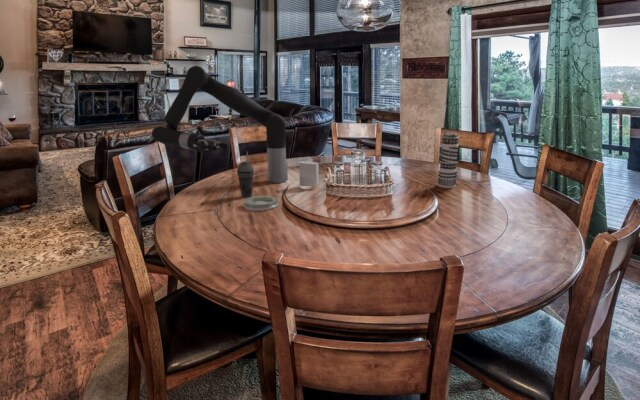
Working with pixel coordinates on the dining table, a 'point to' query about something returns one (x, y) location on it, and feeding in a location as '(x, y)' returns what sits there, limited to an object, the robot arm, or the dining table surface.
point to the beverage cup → (245, 178)
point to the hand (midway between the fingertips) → (222, 147)
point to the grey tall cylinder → (448, 160)
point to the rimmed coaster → (260, 203)
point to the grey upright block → (308, 173)
